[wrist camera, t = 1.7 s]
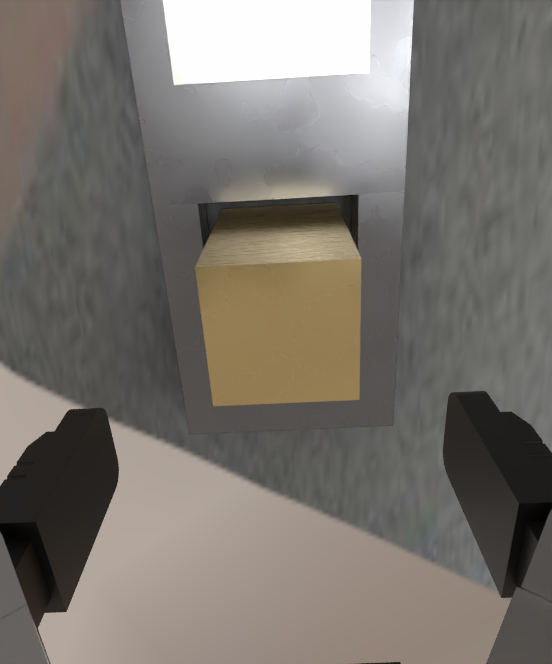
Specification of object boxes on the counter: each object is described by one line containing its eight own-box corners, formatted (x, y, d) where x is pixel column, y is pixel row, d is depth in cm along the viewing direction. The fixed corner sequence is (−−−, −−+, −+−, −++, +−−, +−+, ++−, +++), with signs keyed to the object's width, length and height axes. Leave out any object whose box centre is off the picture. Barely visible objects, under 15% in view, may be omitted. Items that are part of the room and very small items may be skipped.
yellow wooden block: (222, 208, 23) (195, 267, 16) (335, 202, 23) (361, 258, 16) (233, 312, 25) (213, 406, 18) (336, 307, 25) (359, 399, 18)
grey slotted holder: (104, -199, 17) (81, -236, 15) (410, -224, 17) (428, -266, 15) (195, 411, 27) (188, 436, 25) (385, 402, 27) (394, 427, 25)
